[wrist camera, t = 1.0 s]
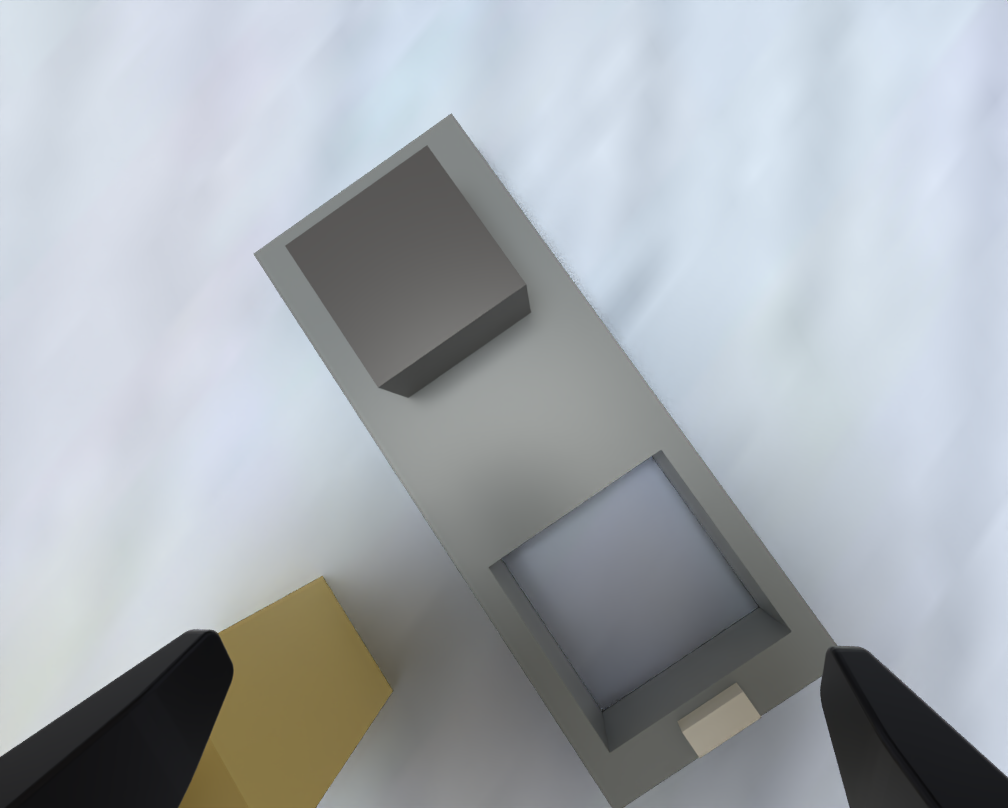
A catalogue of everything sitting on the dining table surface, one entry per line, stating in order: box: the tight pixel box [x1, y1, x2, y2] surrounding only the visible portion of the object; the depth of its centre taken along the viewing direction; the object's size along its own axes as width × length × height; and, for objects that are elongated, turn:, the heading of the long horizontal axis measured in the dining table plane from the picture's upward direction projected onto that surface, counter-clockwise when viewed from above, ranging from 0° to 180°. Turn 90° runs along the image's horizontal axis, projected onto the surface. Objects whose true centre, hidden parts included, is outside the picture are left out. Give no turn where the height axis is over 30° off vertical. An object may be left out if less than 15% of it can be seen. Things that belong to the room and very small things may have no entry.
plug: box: [179, 576, 393, 808], centre depth 15 cm, size 5×5×10 cm
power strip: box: [254, 113, 837, 808], centre depth 17 cm, size 8×20×6 cm, turn 34°
